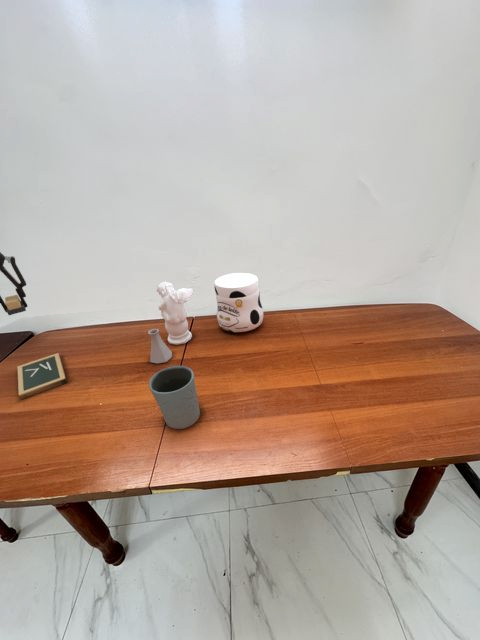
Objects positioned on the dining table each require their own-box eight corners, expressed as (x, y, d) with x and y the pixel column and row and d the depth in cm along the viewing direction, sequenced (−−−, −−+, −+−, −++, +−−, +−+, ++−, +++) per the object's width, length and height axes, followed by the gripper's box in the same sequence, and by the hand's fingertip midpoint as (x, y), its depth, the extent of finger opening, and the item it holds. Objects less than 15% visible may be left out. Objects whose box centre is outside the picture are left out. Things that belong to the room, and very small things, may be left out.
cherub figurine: (167, 333, 110) (152, 276, 98) (201, 327, 112) (189, 271, 100) (168, 350, 100) (150, 289, 88) (204, 343, 102) (192, 282, 90)
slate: (20, 370, 95) (17, 366, 94) (60, 357, 101) (58, 352, 100) (21, 399, 83) (18, 395, 82) (67, 382, 88) (65, 377, 87)
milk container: (215, 338, 105) (207, 290, 95) (221, 316, 119) (215, 273, 110) (264, 335, 104) (260, 287, 94) (264, 314, 119) (261, 270, 109)
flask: (175, 351, 99) (168, 325, 94) (167, 364, 93) (160, 337, 88) (155, 351, 100) (147, 325, 94) (146, 364, 94) (137, 337, 88)
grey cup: (183, 437, 68) (171, 398, 61) (152, 422, 72) (138, 385, 66) (210, 409, 75) (202, 371, 68) (181, 397, 79) (170, 361, 73)
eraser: (8, 307, 107) (2, 297, 105) (24, 303, 110) (19, 293, 108) (8, 315, 101) (2, 304, 99) (26, 310, 104) (20, 300, 101)
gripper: (-62, 249, 86) (-15, 320, 99) (12, 237, 95) (46, 304, 107) (-58, 245, 91) (-14, 313, 104) (12, 234, 100) (44, 298, 112)
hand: (16, 308), depth 105 cm, fingers closed on eraser, 5 cm apart
